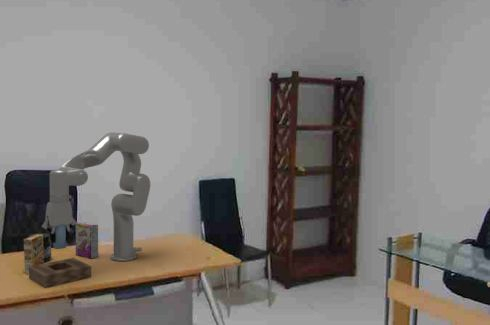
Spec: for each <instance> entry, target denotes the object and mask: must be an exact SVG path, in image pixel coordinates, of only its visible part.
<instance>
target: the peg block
mask: <svg viewBox="0 0 490 325" xmlns="http://www.w3.org/2000/svg"><path fill="white" fill-rule="evenodd" d="M90 278H92V266H91V265H89V264H88V263H86V262H84V261H81V260H79V259H77V258H74V257H71V258H66V259H61V260H56V261H55V260H54V261H50V262H44V264H40V265H35V266H30V267H29V273H28V279H30V280H31V281H32V282H35V283H36V284H38V285H39V286H42V287H43V288H46V289H47V288H48V289H49V288H51V287H55V286H56V287H57V286H60V285H64V284H68V283H73V282H77V281H80V280H81V281H82V280H86V279H90Z"/></svg>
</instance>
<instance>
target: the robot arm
mask: <svg viewBox="0 0 490 325" xmlns="http://www.w3.org/2000/svg"><path fill="white" fill-rule="evenodd" d="M149 148H150V144H149V140H148V139H147V138H146V137H145V136H140V135H135V134H130V133H129V134H128V133H124V132H107V133H105V134H104V135H103V137H101V138H100V139H99V140H97V142H96V143H95V144H93V146H91V147H90V148H89V149H88V150H85V151H83V152H81V153H79V154H77V155H75V156H73V157H71V158H70V159H69V160H67V161H66V162H65V163H64V164H63V165H61V167H60V168H59V169H58V168H57V169H52V170H51V171H50V172H49V202H47V204H46V210H45V220H44V222H43V223H42V225H41V228H42V229H44V230H45V231H47V232H48V234H49V235H50V241H51V244H53V243H55V242H56V240H55V233H54V231H55V227H56V226H59V225H66V242H68V241H69V239H70V231H71V229H73V227H74V226H75V224H76V223H77V220H75V218H74V217H73V208H72V204H71V203H72V202H71V201H70V199H72V198H73V196H72V195H71V194H69V193H70V191H69V189H70V187H71V186H73V187H81V186H83V185H85V184H86V183H87V182H88V178H89V176H88V173H87V171H86V169H88V168H92V167H97V166H99V165H102V164H103V163H104V162H106V160H108V159H109V157H110V156H112V155H113V153H115V152H120V153H121V155H122V160H123V163H122V169H121V174H120V177H119V183H118V184H119V189H120V190H122V191H125V192H128V193H129V192H130V193H132V194H127V193H118V194H116V195H114V196H113V198H112V199H111V204H110V205H111V212H112V217H113V253H112V254H110V256H109V259H111V260H112V261H116V262H117V261H118V262H128V261H133V260H135V259H136V258H137V256H138V255H137V252H142V251H143V248H142V247H135V246H134V218H133V216H136V217H138V216H141V215H142V214H143V213H144V212H145V210H146V208H147V203H148V199H149V194H150V191H151V180H150V177H149V175H146V174H144V173H141V168H142V160H141V157H140V155H143V154H145V153H147V152H148V150H149Z"/></svg>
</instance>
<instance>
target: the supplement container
mask: <svg viewBox="0 0 490 325" xmlns="http://www.w3.org/2000/svg"><path fill="white" fill-rule="evenodd" d="M35 234H37V235H43V259H44V263H48V262H49V261H50V260H51V259H52V242H51V241H50V233H34V234H33V233H32V234H29V236H28V237H30V236H33V235H35Z"/></svg>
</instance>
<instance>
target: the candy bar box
mask: <svg viewBox="0 0 490 325" xmlns="http://www.w3.org/2000/svg"><path fill="white" fill-rule="evenodd" d="M74 227H75V229H74V230H75V256H78V257H82V258H86V259H95V258H98V257H99V224H96V223H93V222H92V223H91V222H87V221H77V222H76V224H74Z"/></svg>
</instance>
